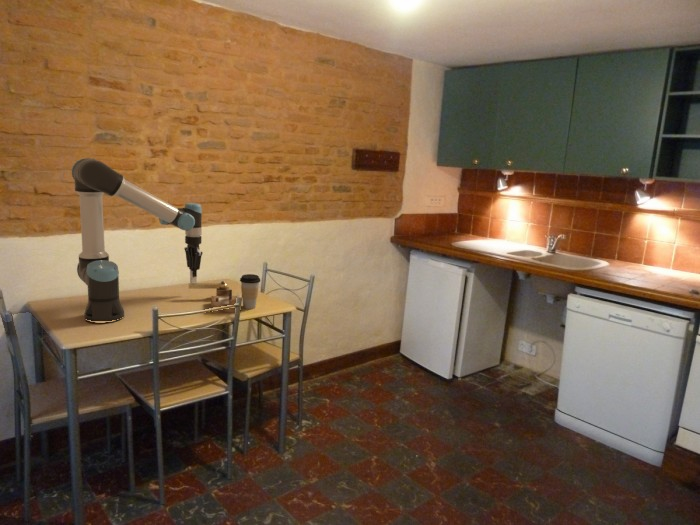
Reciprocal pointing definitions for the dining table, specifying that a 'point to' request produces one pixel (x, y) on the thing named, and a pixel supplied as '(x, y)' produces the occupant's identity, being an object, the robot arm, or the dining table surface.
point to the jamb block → (222, 292)
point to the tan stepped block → (223, 302)
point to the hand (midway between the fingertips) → (193, 282)
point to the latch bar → (208, 285)
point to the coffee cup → (249, 290)
